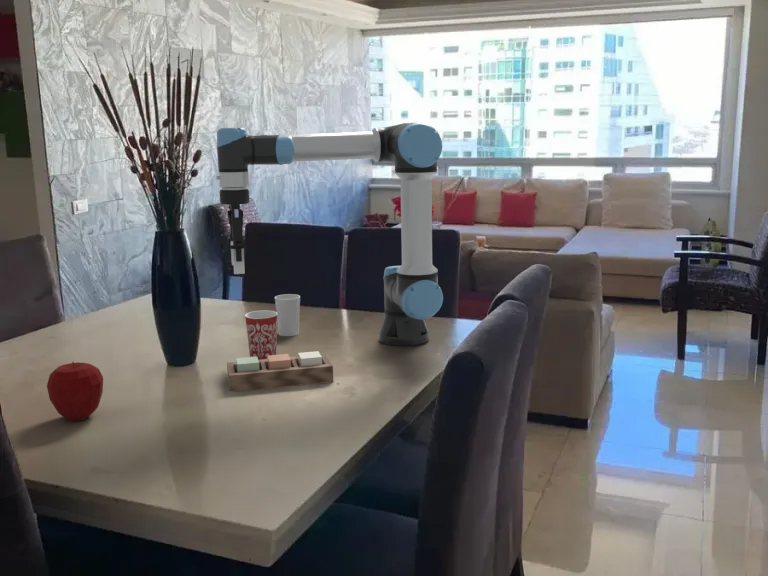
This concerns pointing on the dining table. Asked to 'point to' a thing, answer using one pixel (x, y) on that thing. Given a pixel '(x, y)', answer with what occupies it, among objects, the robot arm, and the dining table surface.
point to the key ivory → (309, 358)
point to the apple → (75, 390)
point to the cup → (288, 314)
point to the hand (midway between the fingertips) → (238, 269)
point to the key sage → (247, 364)
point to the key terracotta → (279, 361)
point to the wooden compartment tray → (279, 375)
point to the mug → (262, 333)
